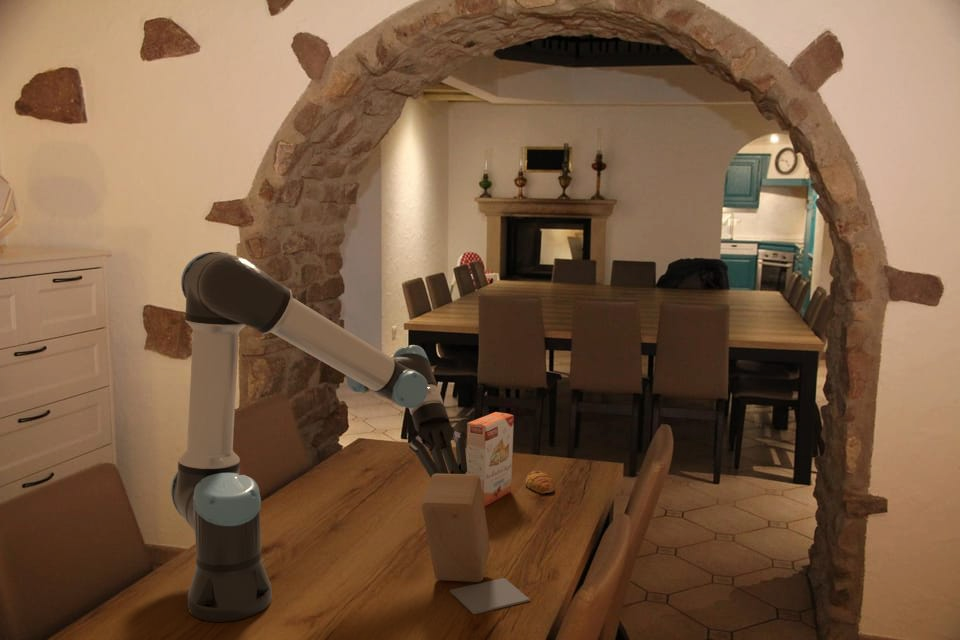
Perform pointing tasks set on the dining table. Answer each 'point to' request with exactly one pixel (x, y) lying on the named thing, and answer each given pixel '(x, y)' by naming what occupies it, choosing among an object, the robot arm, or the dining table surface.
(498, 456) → the cracker box
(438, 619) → the dining table surface
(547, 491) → the pastry
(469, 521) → the wooden block
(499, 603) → the felt pad
